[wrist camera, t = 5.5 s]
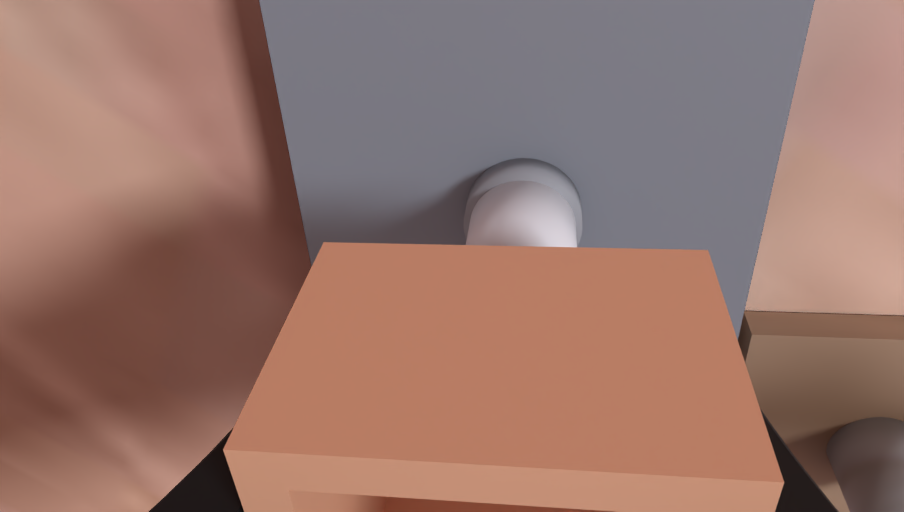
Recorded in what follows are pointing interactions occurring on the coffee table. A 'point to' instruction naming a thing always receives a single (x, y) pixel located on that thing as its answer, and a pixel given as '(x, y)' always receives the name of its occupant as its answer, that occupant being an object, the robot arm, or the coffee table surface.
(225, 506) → the robot arm
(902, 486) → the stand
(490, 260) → the collar
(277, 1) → the square peg base
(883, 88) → the coffee table surface
